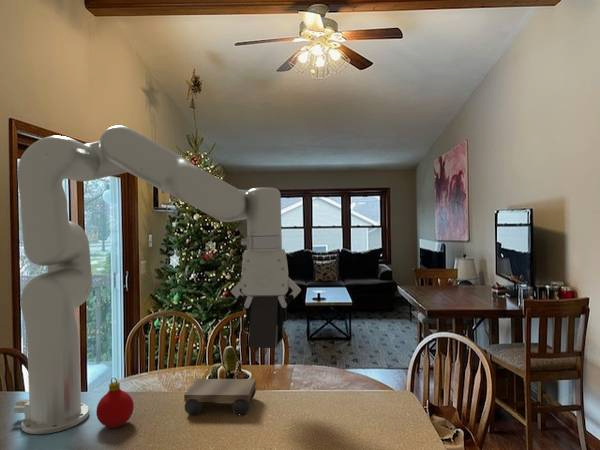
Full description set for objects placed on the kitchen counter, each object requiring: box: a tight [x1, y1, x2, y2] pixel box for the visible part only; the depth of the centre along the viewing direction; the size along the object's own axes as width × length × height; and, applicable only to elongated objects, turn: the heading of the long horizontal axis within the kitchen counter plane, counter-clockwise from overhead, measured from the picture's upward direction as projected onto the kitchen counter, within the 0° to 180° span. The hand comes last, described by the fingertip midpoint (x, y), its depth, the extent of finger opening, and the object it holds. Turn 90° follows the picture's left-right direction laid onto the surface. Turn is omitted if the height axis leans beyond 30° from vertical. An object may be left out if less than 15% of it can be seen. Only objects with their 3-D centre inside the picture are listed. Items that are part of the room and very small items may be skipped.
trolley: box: [183, 378, 257, 416], centre depth 98 cm, size 14×9×4 cm, turn 87°
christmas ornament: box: [95, 377, 135, 428], centre depth 90 cm, size 7×7×10 cm
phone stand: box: [247, 296, 286, 349], centre depth 97 cm, size 9×6×12 cm, turn 169°
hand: (266, 323), depth 97 cm, fingers closed on phone stand, 6 cm apart
